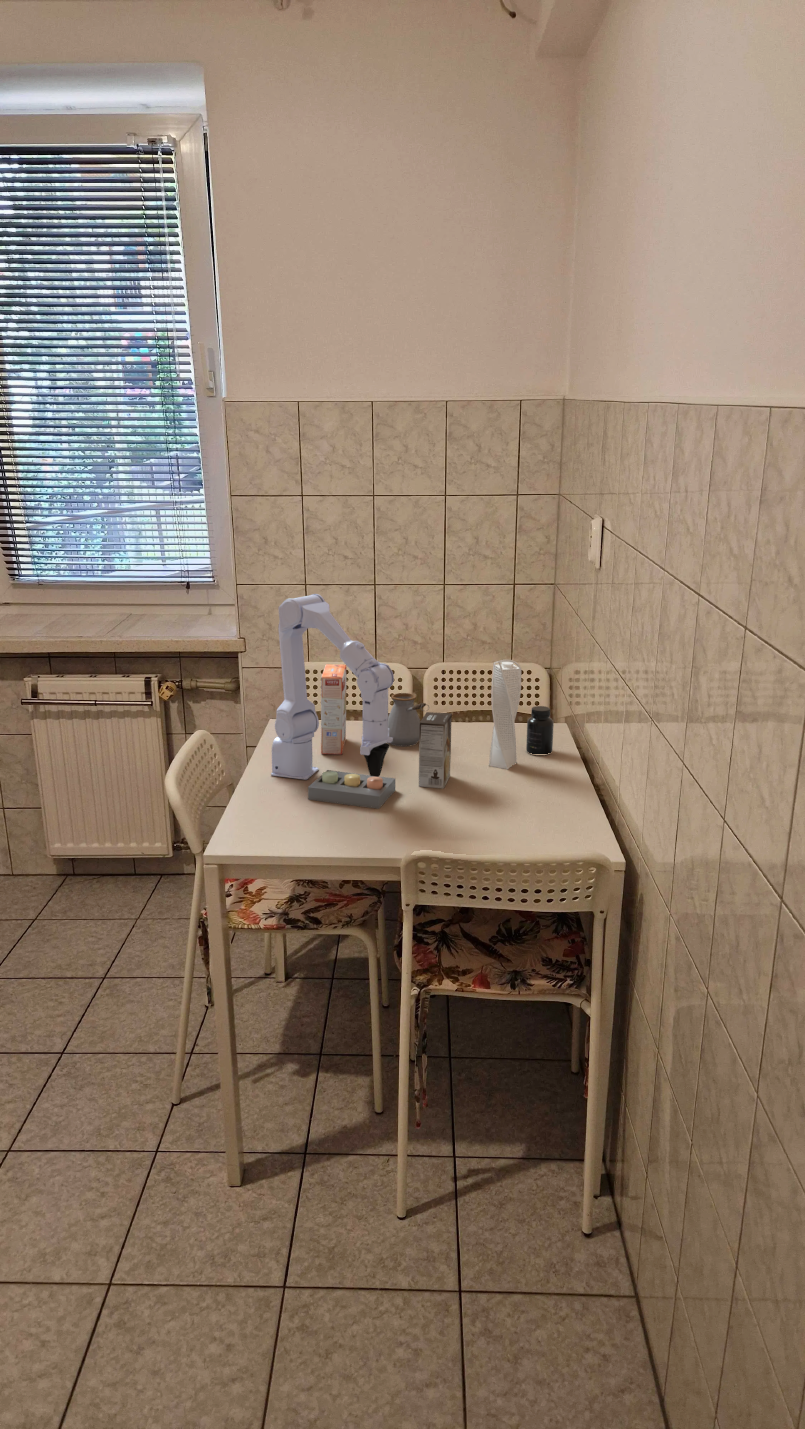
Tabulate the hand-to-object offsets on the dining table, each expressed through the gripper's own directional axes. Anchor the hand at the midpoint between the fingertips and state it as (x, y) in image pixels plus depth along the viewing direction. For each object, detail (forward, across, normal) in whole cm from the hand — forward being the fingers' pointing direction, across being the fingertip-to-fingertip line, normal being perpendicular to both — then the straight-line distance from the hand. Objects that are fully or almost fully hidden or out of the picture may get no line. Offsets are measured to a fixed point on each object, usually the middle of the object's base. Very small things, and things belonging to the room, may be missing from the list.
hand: (375, 775), depth 228 cm
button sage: (+4, 0, +11) cm, 12 cm away
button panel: (+6, 0, +6) cm, 8 cm away
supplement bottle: (+6, +45, -30) cm, 54 cm away
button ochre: (+4, 0, +5) cm, 7 cm away
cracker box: (+6, +31, +22) cm, 38 cm away
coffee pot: (+6, +37, +3) cm, 38 cm away
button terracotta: (+4, 0, 0) cm, 4 cm away
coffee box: (+6, +15, -10) cm, 19 cm away
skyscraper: (+6, +32, -23) cm, 40 cm away
